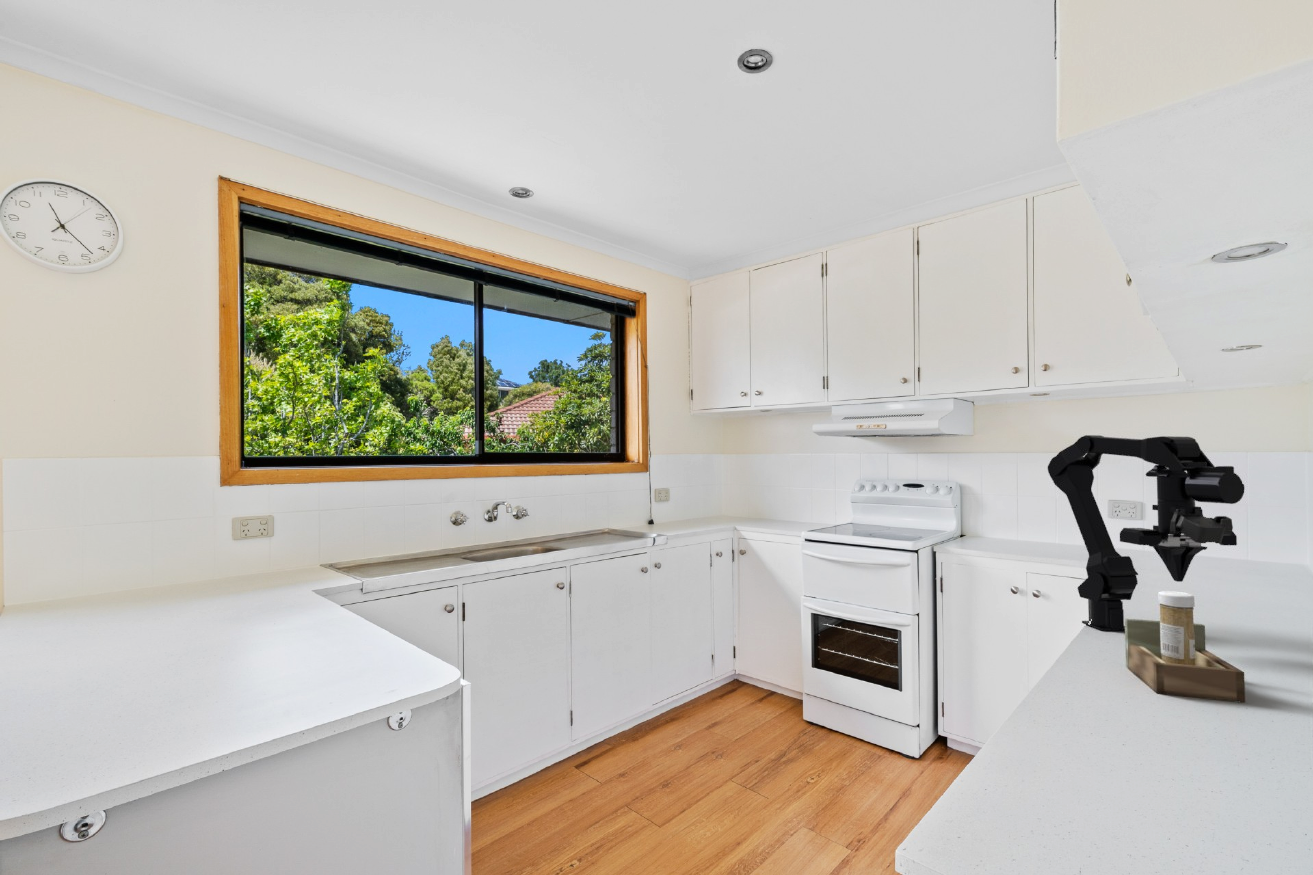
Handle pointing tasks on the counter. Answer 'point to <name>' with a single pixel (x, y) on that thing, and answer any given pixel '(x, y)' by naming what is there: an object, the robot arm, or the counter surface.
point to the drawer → (1149, 641)
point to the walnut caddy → (1188, 677)
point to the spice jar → (1177, 627)
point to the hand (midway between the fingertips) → (1178, 581)
